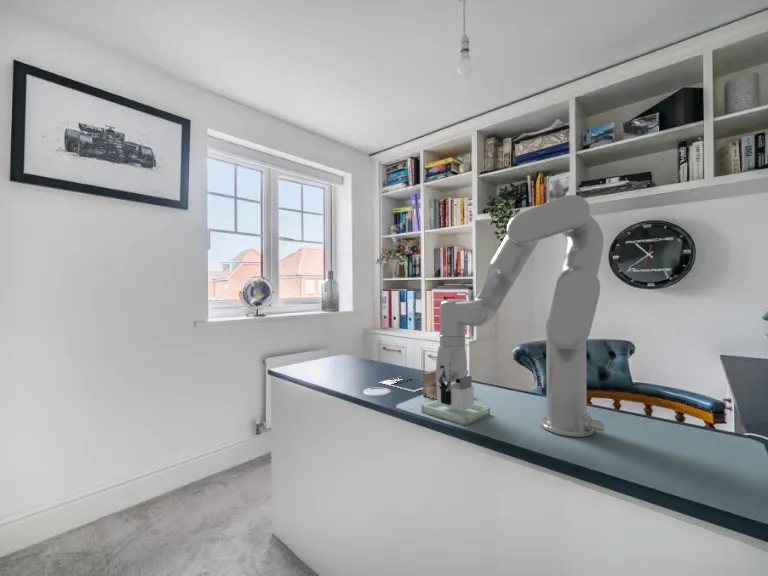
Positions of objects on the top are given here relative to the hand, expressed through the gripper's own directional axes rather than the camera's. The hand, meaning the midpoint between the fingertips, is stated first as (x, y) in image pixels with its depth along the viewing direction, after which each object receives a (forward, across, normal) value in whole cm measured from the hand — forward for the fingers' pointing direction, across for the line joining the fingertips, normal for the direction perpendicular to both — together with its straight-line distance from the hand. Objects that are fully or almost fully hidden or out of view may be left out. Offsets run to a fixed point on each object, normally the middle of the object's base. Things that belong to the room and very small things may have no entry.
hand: (452, 400), depth 109 cm
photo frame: (+4, -15, -31) cm, 35 cm away
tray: (+3, 0, +1) cm, 4 cm away
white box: (+1, 0, +1) cm, 1 cm away
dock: (+3, -12, -10) cm, 17 cm away
